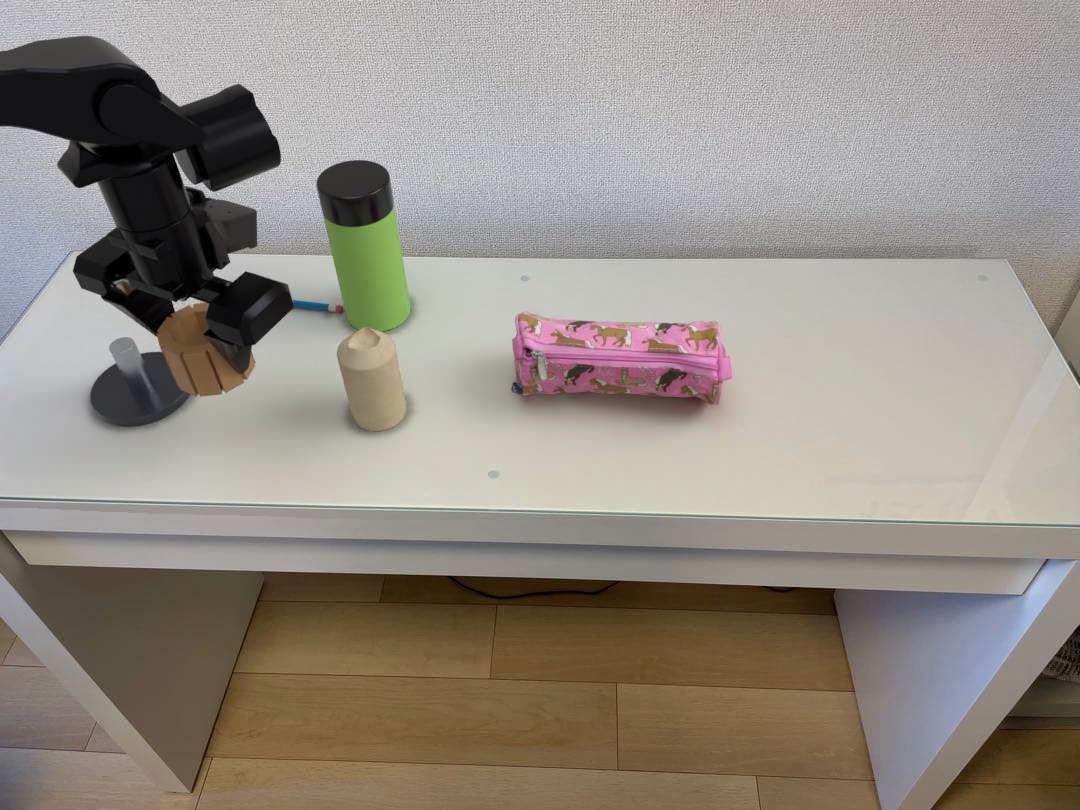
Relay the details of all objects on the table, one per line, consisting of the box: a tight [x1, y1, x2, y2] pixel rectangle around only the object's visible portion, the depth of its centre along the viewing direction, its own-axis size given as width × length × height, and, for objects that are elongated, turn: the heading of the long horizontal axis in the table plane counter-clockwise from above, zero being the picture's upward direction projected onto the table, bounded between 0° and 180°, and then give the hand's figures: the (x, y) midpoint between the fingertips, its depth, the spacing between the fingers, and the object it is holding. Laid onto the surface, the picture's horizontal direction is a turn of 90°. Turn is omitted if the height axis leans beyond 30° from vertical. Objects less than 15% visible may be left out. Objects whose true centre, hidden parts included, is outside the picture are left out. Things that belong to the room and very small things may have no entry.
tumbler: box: [315, 159, 411, 332], centre depth 91 cm, size 8×8×17 cm
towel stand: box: [89, 336, 191, 427], centre depth 87 cm, size 10×10×6 cm
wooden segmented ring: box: [156, 302, 256, 397], centre depth 76 cm, size 7×7×5 cm
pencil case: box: [510, 311, 733, 406], centre depth 85 cm, size 21×9×9 cm, turn 85°
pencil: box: [292, 299, 344, 313], centre depth 98 cm, size 1×17×1 cm, turn 80°
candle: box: [336, 327, 407, 432], centre depth 83 cm, size 6×6×10 cm
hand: (211, 358), depth 77 cm, fingers closed on wooden segmented ring, 7 cm apart
